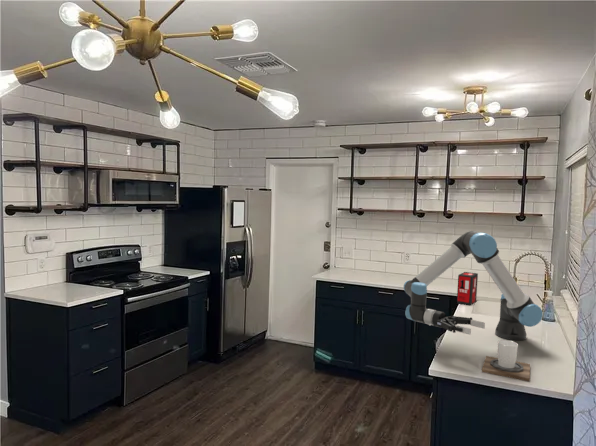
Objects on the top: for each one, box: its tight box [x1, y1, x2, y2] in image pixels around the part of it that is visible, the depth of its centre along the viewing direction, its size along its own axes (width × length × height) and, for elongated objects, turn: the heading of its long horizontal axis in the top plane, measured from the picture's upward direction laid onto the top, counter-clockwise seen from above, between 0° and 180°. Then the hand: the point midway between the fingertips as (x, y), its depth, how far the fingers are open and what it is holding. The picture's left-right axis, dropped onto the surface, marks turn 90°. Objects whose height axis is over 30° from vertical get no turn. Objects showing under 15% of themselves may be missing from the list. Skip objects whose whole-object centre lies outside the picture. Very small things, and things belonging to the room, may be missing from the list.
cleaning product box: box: [456, 271, 479, 307], centre depth 311 cm, size 16×9×20 cm, turn 145°
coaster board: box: [481, 355, 531, 382], centre depth 193 cm, size 18×18×2 cm
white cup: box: [497, 339, 519, 368], centre depth 193 cm, size 8×8×10 cm
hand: (477, 328), depth 202 cm, fingers open, 13 cm apart
